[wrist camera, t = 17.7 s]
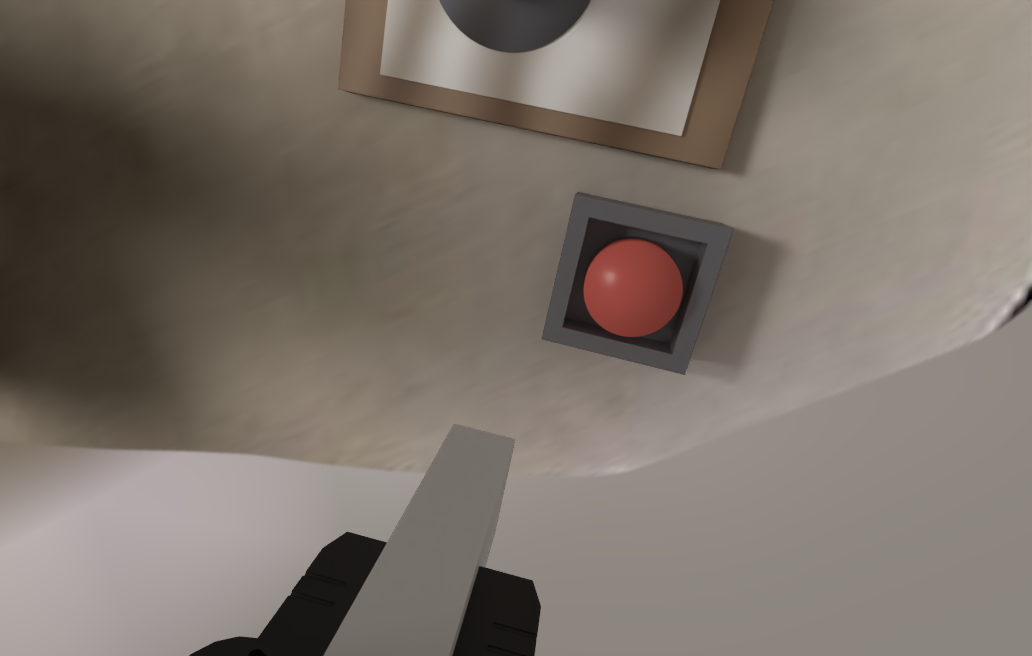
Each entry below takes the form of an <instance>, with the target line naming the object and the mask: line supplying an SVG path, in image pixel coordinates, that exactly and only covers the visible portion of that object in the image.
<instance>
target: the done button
mask: <svg viewBox="0 0 1032 656" xmlns="http://www.w3.org/2000/svg"><path fill="white" fill-rule="evenodd" d="M682 292H683V285H682V278H681V275H680V272H679V270H678V268H677V266H676V264H675V263H674V261H673V260H672V258H671V257H670V255H669V254H668V253H667V252H666V250H665V249H664V248H662V247H661V246H660V245H658V244H657V243H655V242H653V241H651V240H649V239H646V238H641V237H624V238H619V239H616V240H614V241H612V242H610V243H608V244H606V245H605V246H603V247H602V248H601V249H600V250H599V251H598V252H597V253H596V254H595V255H594V257H593V258H592V260H591V262H590V264H589V266H588V269H587V273H586V277H585V282H584V299H585V304H586V306H587V309H588V311H589V313H590V315H591V316H592V318H593V319H594V320H595V321H596V322H597V323H598V324H599V325H600V326H601V327H602V328H604V329H606V330H607V331H609V332H611V333H613V334H616V335H620V336H625V337H639V336H644V335H647V334H651V333H653V332H655V331H657V330H659V329H660V328H662V327H663V326H664V325H666V324H667V323H668V322H669V321H670V320H671V319H672V317H673V316H674V315H675V313H676V311H677V310H678V308H679V305H680V302H681V298H682Z"/></svg>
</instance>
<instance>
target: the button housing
mask: <svg viewBox="0 0 1032 656" xmlns="http://www.w3.org/2000/svg"><path fill="white" fill-rule="evenodd" d="M732 232H733V229H732V228H730V227H728V226H726V225H724V224H722V223H717V222H713V221H708V220H703V219H699V218H694V217H690V216H685V215H681V214H676V213H672V212H667V211H662V210H658V209H653V208H649V207H644V206H640V205H635V204H631V203H626V202H621V201H617V200H612V199H608V198H603V197H599V196H594V195H589V194H585V193H580V192H578V193H577V194H575V198H574V202H573V206H572V211H571V215H570V219H569V223H568V228H567V232H566V236H565V241H564V245H563V249H562V254H561V258H560V262H559V267H558V271H557V275H556V279H555V284H554V288H553V292H552V297H551V301H550V305H549V310H548V314H547V318H546V323H545V327H544V331H543V336H542V339H543V340H547V341H551V342H555V343H559V344H563V345H567V346H571V347H575V348H579V349H583V350H587V351H591V352H595V353H599V354H603V355H607V356H611V357H615V358H619V359H623V360H627V361H631V362H635V363H639V364H643V365H647V366H651V367H655V368H659V369H663V370H667V371H671V372H675V373H680V374H684V375H685V372H686V369H687V366H688V363H689V361H690V358H691V355H692V352H693V349H694V346H695V343H696V340H697V337H698V334H699V331H700V328H701V325H702V322H703V319H704V316H705V313H706V310H707V307H708V304H709V301H710V298H711V295H712V292H713V289H714V286H715V283H716V280H717V277H718V274H719V271H720V268H721V265H722V262H723V259H724V256H725V253H726V250H727V247H728V244H729V241H730V238H731V235H732ZM624 237H641V238H646V239H649V240H651V241H653V242H655V243H657V244H658V245H660V246H661V247H662V248H664V249H665V250H666V252H667V253H668V254H669V255H670V257H671V258H672V260H673V261H674V263H675V264H676V266H677V268H678V270H679V272H680V275H681V278H682V285H683V292H682V298H681V302H680V305H679V308H678V310H677V311H676V313H675V315H674V316H673V317H672V319H671V320H670V321H669V322H668V323H667V324H666V325H664V326H663V327H662V328H660V329H659V330H657V331H655V332H653V333H651V334H647V335H644V336H639V337H625V336H620V335H616V334H613V333H611V332H609V331H607V330H606V329H604V328H602V327H601V326H600V325H599V324H598V323H597V322H596V321H595V320H594V319H593V318H592V316H591V315H590V313H589V311H588V309H587V306H586V304H585V299H584V282H585V277H586V273H587V269H588V266H589V264H590V262H591V260H592V258H593V257H594V255H595V254H596V253H597V252H598V251H599V250H600V249H601V248H602V247H603V246H605V245H606V244H608V243H610V242H612V241H614V240H616V239H619V238H624Z"/></svg>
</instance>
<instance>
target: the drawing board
mask: <svg viewBox="0 0 1032 656" xmlns="http://www.w3.org/2000/svg"><path fill="white" fill-rule="evenodd" d="M773 2H774V0H346V3H345V15H344V27H343V39H342V51H341V63H340V75H339V88H338V89H340V90H343V91H346V92H351V93H355V94H360V95H365V96H370V97H374V98H379V99H384V100H389V101H394V102H398V103H403V104H408V105H413V106H417V107H422V108H427V109H432V110H437V111H441V112H446V113H451V114H456V115H460V116H465V117H470V118H475V119H480V120H484V121H489V122H494V123H499V124H503V125H508V126H513V127H518V128H523V129H527V130H532V131H537V132H542V133H546V134H551V135H556V136H561V137H566V138H570V139H575V140H580V141H585V142H590V143H594V144H599V145H604V146H609V147H613V148H618V149H623V150H628V151H633V152H637V153H642V154H647V155H652V156H656V157H661V158H666V159H671V160H676V161H680V162H685V163H690V164H695V165H699V166H704V167H709V168H714V169H721V167H722V163H723V160H724V157H725V154H726V151H727V147H728V144H729V141H730V138H731V135H732V132H733V128H734V125H735V122H736V119H737V116H738V113H739V109H740V106H741V103H742V100H743V97H744V94H745V90H746V87H747V84H748V81H749V78H750V75H751V71H752V68H753V65H754V62H755V59H756V56H757V52H758V49H759V46H760V43H761V40H762V36H763V33H764V30H765V27H766V24H767V21H768V17H769V14H770V11H771V8H772V5H773Z"/></svg>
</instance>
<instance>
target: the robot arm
mask: <svg viewBox="0 0 1032 656" xmlns="http://www.w3.org/2000/svg"><path fill="white" fill-rule="evenodd" d="M514 443H515V439H512V438H508V437H505V436H501V435H497V434H493V433H489V432H485V431H481V430H477V429H473V428H469V427H465V426H461V425H457V424H454V425H453V426H452V428H451V430H450V432H449V433H448V435H447V437H446V439H445V441H444V442H443V444H442V446H441V448H440V449H439V451H438V453H437V455H436V457H435V458H434V460H433V462H432V464H431V465H430V467H429V469H428V471H427V473H426V474H425V476H424V478H423V480H422V481H421V483H420V485H419V487H418V489H417V490H416V492H415V494H414V496H413V498H412V499H411V501H410V503H409V505H408V506H407V508H406V510H405V512H404V513H403V515H402V517H401V519H400V521H399V522H398V524H397V526H396V528H395V529H394V531H393V533H392V535H391V537H390V538H389V540H388V542H383V541H379V540H376V539H372V538H368V537H365V536H361V535H358V534H354V533H350V532H346V533H345V534H343V535H342V536H340V537H339V538H337V539H336V540H334V541H333V542H331V543H330V544H328V545H327V546H325V547H324V548H323V549H322V550H321V552H320V553H319V554H318V555H317V557H316V558H315V560H314V561H313V562H312V564H311V565H310V567H309V568H308V569H307V571H306V574H305V576H302V578H301V579H300V580H299V582H298V583H297V584H296V586H295V587H294V589H293V590H292V593H291V595H290V596H288V597H287V598H286V600H285V601H284V603H283V604H282V605H281V607H280V608H279V609H278V611H277V612H276V614H275V615H274V616H273V618H272V619H271V620H270V622H269V623H268V625H267V626H266V627H265V629H264V630H263V632H262V633H261V634H260V636H259V637H258V638H249V637H234V638H230V639H226V640H221V641H216V642H214V643H212V644H210V645H208V646H206V647H204V648H202V649H200V650H198V651H196V652H194V653H192V654H191V655H190V656H534V654H535V647H536V638H537V632H538V625H539V617H540V609H541V606H540V602H539V599H538V596H537V593H536V590H535V587H534V583H533V581H532V580H529V579H525V578H521V577H518V576H514V575H510V574H507V573H503V572H499V571H496V570H492V569H488V568H485V566H486V563H487V559H488V556H489V552H490V549H491V545H492V542H493V538H494V535H495V531H496V526H497V521H498V517H499V512H500V508H501V503H502V498H503V494H504V489H505V484H506V480H507V475H508V471H509V466H510V462H511V457H512V453H513V448H514Z"/></svg>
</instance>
